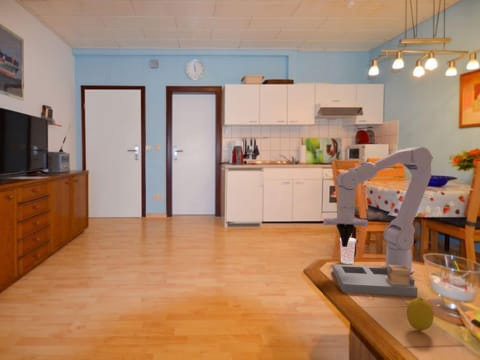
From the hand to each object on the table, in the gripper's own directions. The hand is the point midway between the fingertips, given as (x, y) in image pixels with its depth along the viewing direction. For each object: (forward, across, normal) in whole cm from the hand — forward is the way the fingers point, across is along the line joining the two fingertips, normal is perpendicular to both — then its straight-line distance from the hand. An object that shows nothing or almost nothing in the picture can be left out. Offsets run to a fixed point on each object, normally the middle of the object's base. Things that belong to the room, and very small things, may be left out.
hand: (344, 246), depth 125 cm
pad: (+7, +14, -13) cm, 20 cm away
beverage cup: (+10, +4, +14) cm, 17 cm away
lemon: (+10, +10, -41) cm, 43 cm away
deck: (+9, +7, -9) cm, 15 cm away
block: (+7, +14, -13) cm, 20 cm away
